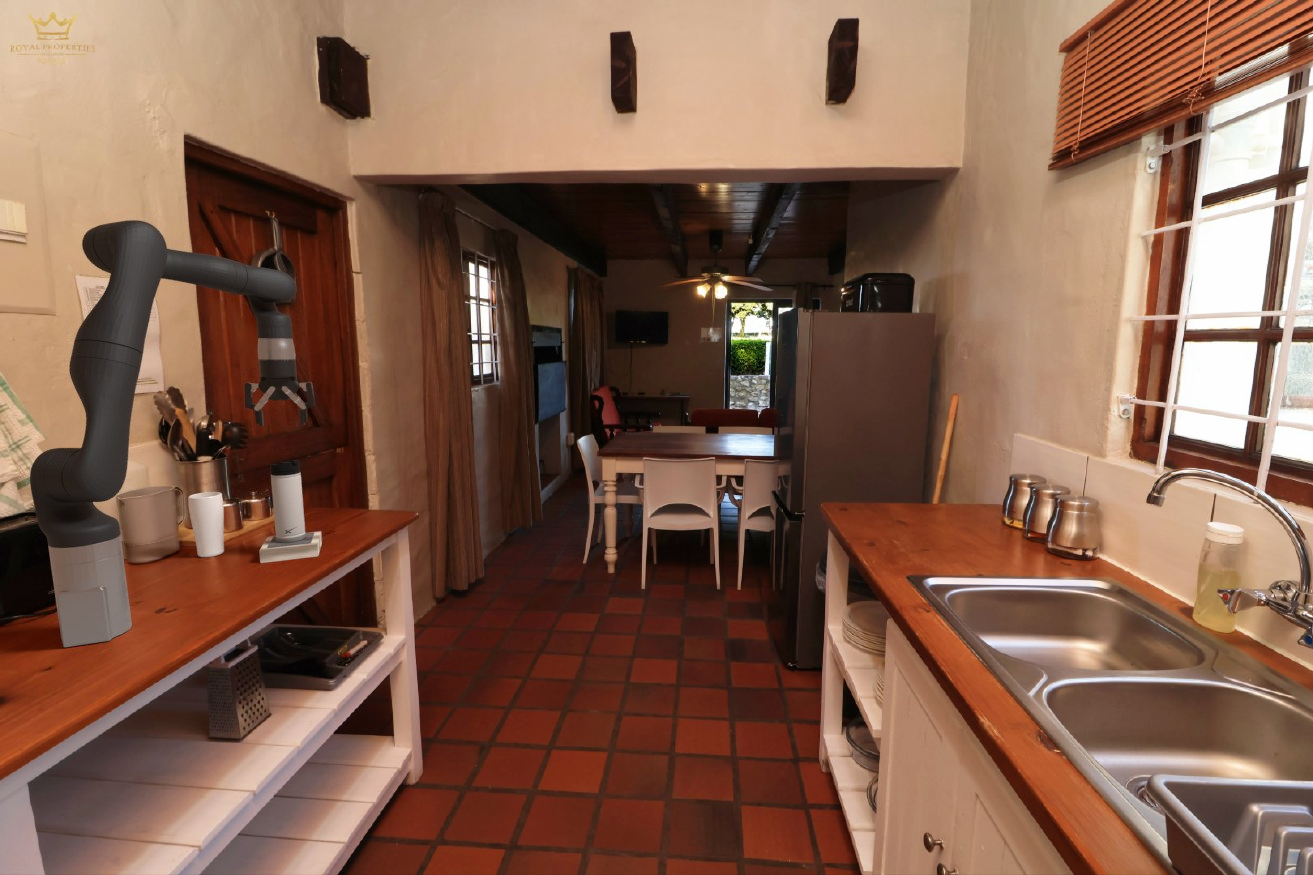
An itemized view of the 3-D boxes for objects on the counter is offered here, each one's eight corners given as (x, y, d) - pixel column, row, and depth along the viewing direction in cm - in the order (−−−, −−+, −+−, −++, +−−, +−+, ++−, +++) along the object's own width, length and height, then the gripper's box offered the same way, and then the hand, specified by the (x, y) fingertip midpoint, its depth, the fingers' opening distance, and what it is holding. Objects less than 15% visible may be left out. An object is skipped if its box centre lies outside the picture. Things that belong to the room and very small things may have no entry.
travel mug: (293, 544, 148) (286, 462, 145) (270, 542, 149) (263, 461, 147) (312, 536, 154) (306, 458, 151) (290, 534, 155) (283, 457, 153)
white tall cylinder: (192, 553, 151) (186, 494, 149) (226, 548, 155) (220, 490, 153) (195, 561, 146) (189, 499, 144) (229, 554, 150) (224, 495, 148)
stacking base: (318, 556, 149) (317, 543, 149) (260, 563, 144) (259, 549, 144) (322, 542, 160) (321, 530, 160) (268, 548, 155) (267, 535, 155)
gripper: (238, 358, 139) (244, 428, 142) (309, 358, 145) (314, 425, 147) (244, 357, 146) (250, 425, 148) (312, 357, 152) (317, 422, 154)
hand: (282, 425), depth 148 cm, fingers open, 8 cm apart
